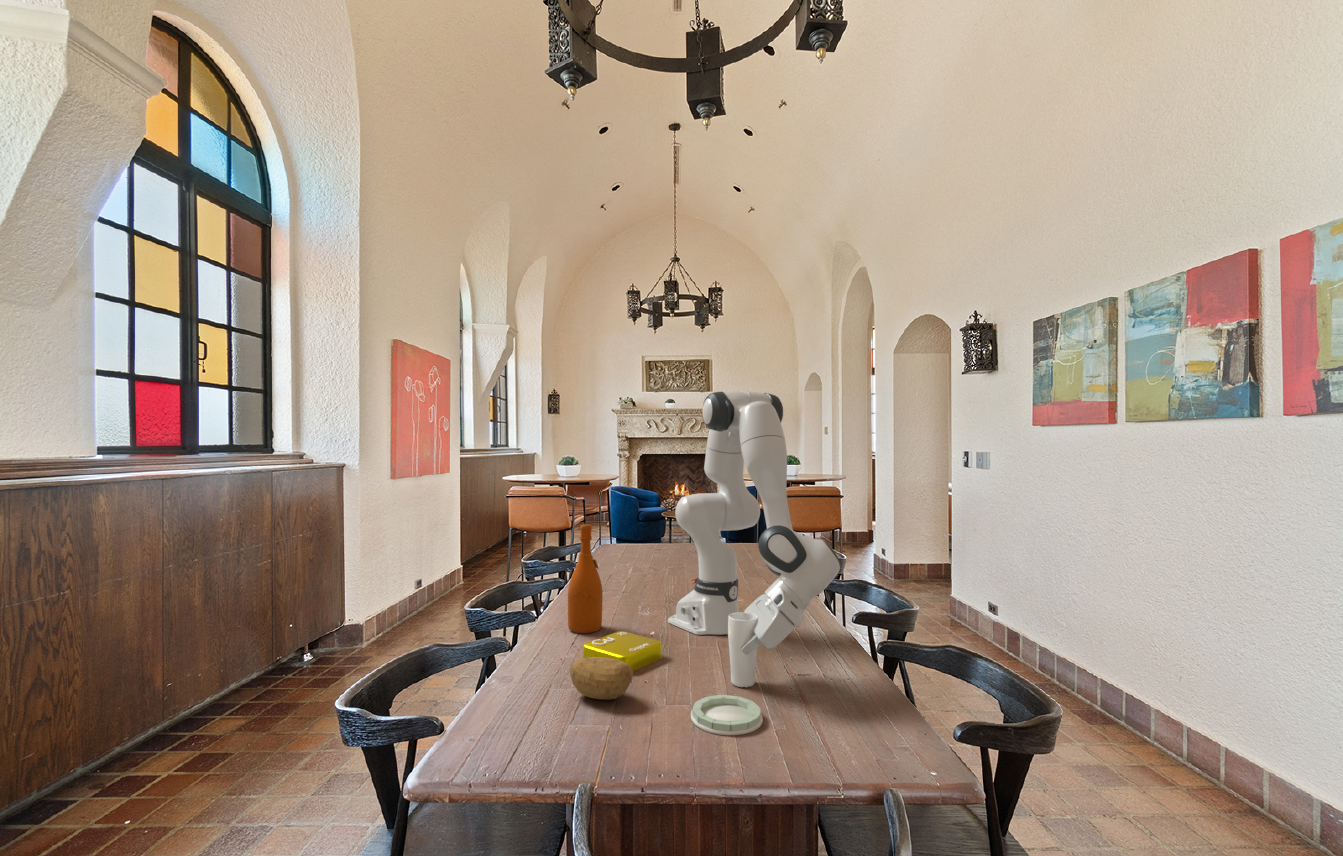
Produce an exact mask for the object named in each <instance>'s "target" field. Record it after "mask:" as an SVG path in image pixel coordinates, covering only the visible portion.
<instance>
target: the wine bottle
mask: <svg viewBox="0 0 1343 856" xmlns="http://www.w3.org/2000/svg"><path fill="white" fill-rule="evenodd" d="M579 529H580V530H579V531H580V536H579V540H580V551H579V555H578V561H577V563H576V565H575V569H574V570H573V572H572V575H571V578H570V580H569V583H568V590H567V591H568V592H567V626H568V629H569V631H571V632H572V633H577V634H590V633H594V632H597V631H599V630H600V629H601V628H602V623H603V585H602V580H601V578H600V574H599V572H598V569H599V566H598V562H597V559H595V558H594V557H593V553H592V549H591V548H592V547H591V541H592V529H593V527H592V525H591V524H588V523H584V524H581V525H580V527H579Z"/></svg>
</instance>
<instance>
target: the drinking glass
mask: <svg viewBox="0 0 1343 856" xmlns="http://www.w3.org/2000/svg"><path fill="white" fill-rule="evenodd" d="M754 617H756V619H753V620H750V619H752V618H754ZM757 620H758V616H757V615H755V614H752V613H746V612H744V611H743V612H741V611H740V612H737V613H732V614H730V615H729V616H728V634H727V637H728V639H727V640H728V651H729V664H730V665H729V666H730V683H731V684H732V685H733V686H734V687H737V688H738V687H739V688H743V687H745V688H751V687H752V686H754V685H755V682H756V666H757V656H758V655H757V654H758V653H757V652H758V648H756V649H754V650H752V651H751V652H750V653H749V654H748V655H746V654H745V653H744V652H743V651H742V650H741V647H742V646H743V645H744V644H745V643H747V642H749V641H750V640H751V639H752V637H753V636H754V635H755V633H754V631H753V628H754V626H755V624H756V623H757Z"/></svg>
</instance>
